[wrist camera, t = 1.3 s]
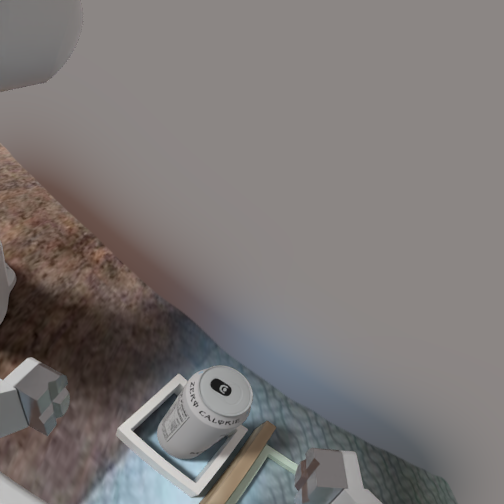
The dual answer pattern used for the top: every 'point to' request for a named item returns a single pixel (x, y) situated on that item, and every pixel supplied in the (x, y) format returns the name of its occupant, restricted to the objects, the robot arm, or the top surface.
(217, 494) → the rail
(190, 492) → the socket
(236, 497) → the socket
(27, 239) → the top surface
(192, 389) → the energy drink can
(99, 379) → the top surface
